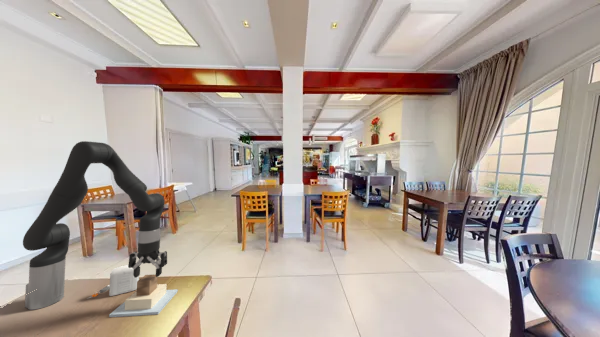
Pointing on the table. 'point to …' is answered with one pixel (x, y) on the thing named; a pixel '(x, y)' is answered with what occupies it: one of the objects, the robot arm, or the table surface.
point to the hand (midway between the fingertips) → (147, 276)
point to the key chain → (101, 291)
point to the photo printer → (122, 280)
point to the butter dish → (145, 303)
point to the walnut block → (146, 285)
